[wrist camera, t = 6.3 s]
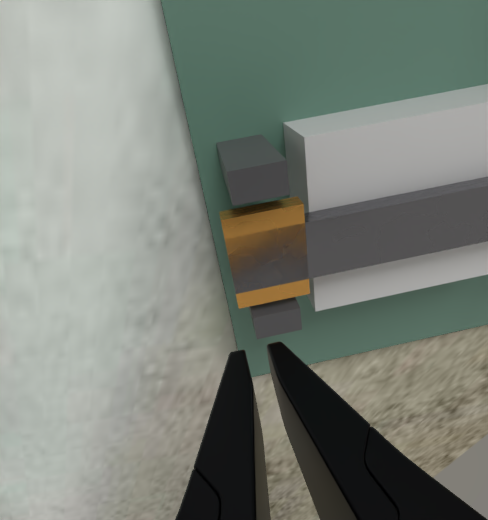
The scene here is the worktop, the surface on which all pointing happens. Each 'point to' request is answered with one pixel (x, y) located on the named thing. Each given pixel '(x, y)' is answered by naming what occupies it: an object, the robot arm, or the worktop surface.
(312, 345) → the board
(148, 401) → the worktop surface
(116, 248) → the worktop surface
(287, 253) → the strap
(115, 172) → the worktop surface
